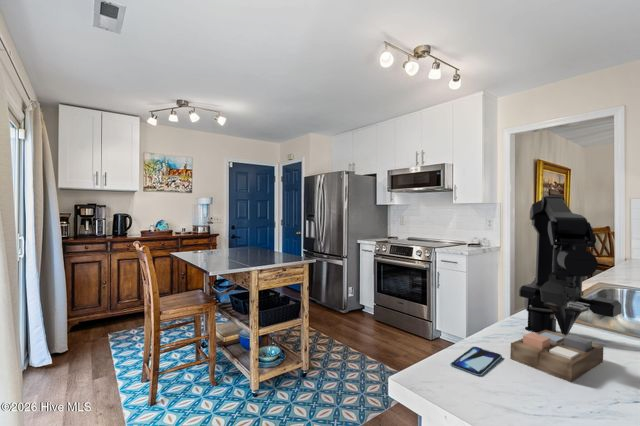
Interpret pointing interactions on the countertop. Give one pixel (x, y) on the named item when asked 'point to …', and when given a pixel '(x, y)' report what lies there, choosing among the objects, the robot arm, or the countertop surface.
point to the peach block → (536, 341)
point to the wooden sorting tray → (557, 359)
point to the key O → (578, 343)
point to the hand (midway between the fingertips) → (564, 334)
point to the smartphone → (476, 361)
